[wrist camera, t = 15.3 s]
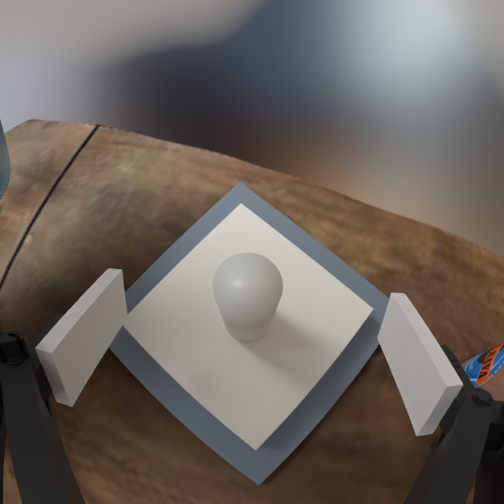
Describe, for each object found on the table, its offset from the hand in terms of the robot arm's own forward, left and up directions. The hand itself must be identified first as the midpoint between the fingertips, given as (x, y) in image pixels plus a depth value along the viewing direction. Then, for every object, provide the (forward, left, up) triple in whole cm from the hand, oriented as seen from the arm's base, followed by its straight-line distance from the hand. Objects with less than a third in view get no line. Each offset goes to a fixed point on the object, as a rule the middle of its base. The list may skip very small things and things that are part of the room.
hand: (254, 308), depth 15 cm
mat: (-1, +1, -10) cm, 10 cm away
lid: (-1, 0, -9) cm, 10 cm away
